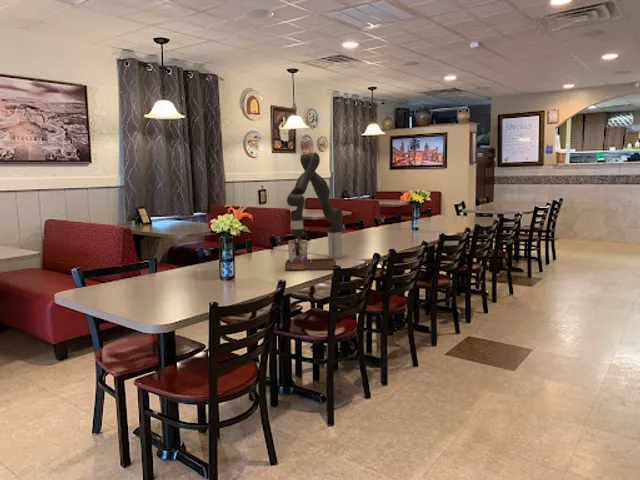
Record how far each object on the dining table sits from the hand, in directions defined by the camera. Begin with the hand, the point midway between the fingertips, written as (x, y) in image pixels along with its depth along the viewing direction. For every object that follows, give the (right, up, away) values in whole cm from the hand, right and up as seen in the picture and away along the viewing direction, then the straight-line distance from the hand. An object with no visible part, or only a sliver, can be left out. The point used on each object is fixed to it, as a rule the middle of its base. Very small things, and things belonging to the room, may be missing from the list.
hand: (298, 254), depth 303 cm
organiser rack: (+8, -9, +1) cm, 12 cm away
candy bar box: (0, -8, +1) cm, 8 cm away
